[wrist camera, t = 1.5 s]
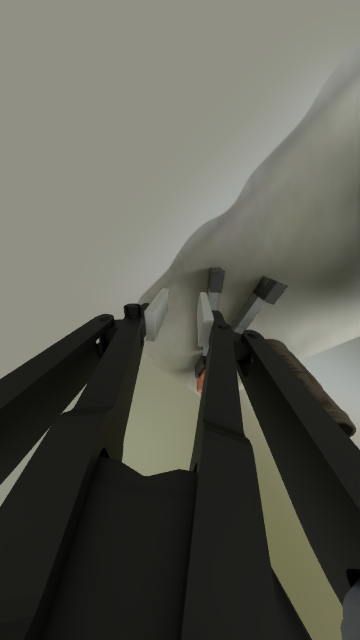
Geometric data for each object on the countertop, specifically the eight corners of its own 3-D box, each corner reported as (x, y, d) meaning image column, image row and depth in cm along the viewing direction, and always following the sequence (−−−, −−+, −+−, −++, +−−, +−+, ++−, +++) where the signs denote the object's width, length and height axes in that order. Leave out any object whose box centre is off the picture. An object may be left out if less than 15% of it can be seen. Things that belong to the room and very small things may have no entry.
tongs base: (208, 371, 45) (210, 386, 40) (194, 366, 45) (194, 381, 40) (272, 279, 29) (287, 285, 25) (252, 271, 29) (264, 276, 24)
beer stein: (241, 343, 38) (282, 428, 21) (283, 331, 35) (369, 419, 18) (252, 374, 45) (290, 457, 28) (288, 366, 42) (353, 454, 25)
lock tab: (206, 382, 41) (207, 394, 37) (196, 379, 41) (197, 391, 37) (218, 365, 37) (221, 377, 34) (208, 361, 37) (209, 373, 33)
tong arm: (209, 349, 40) (211, 362, 36) (202, 349, 40) (203, 362, 36) (219, 267, 29) (224, 271, 24) (209, 267, 29) (212, 271, 25)
